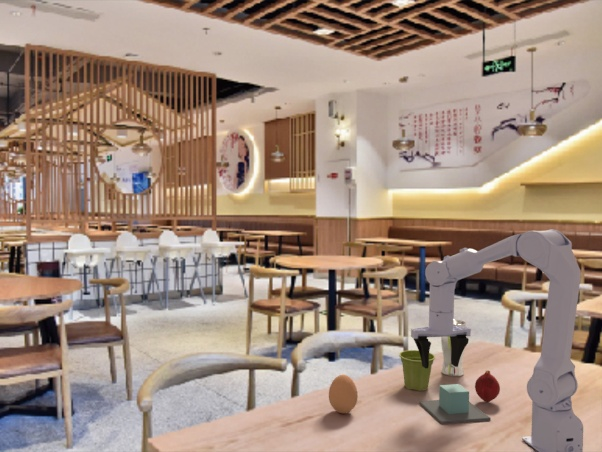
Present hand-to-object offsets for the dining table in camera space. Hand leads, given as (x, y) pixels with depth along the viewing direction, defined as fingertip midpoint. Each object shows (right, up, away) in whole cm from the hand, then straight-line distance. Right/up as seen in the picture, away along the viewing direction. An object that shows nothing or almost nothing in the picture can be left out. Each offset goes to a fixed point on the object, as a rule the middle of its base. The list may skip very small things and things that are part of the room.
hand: (440, 366), depth 126 cm
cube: (+3, -10, -2) cm, 10 cm away
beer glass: (+10, -9, +26) cm, 29 cm away
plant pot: (-3, -10, +14) cm, 17 cm away
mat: (+3, -10, -2) cm, 11 cm away
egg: (-24, -10, -3) cm, 26 cm away
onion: (+13, -10, +4) cm, 17 cm away
